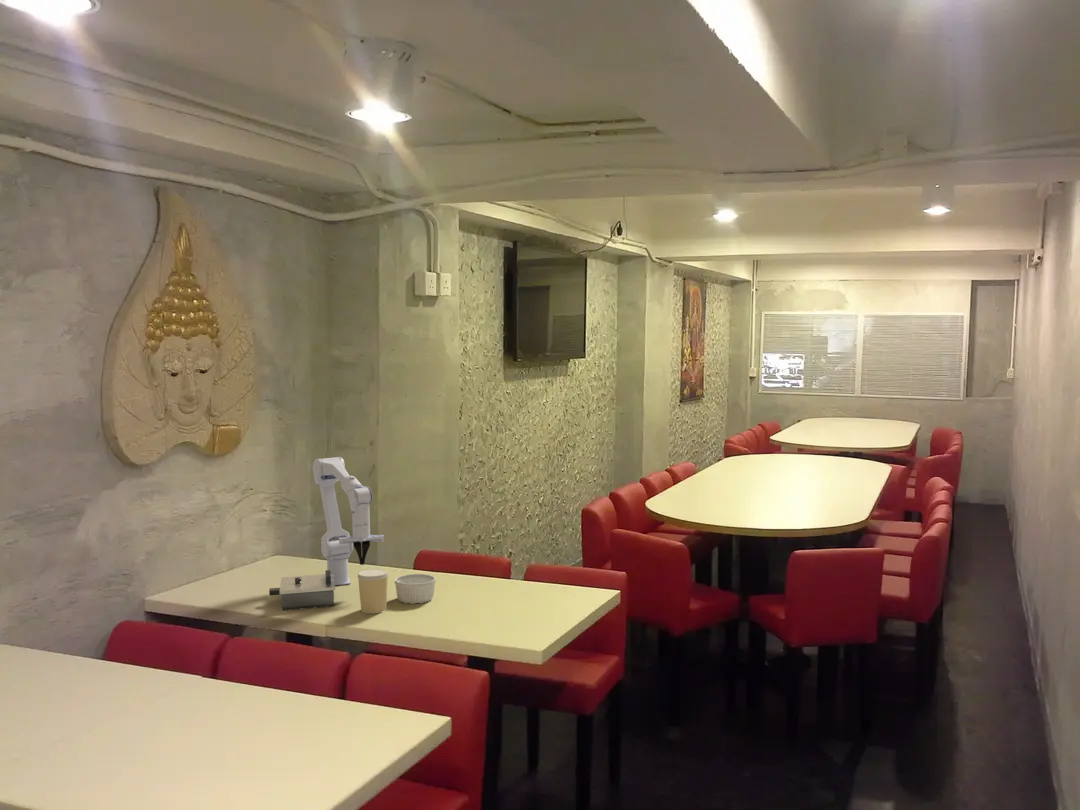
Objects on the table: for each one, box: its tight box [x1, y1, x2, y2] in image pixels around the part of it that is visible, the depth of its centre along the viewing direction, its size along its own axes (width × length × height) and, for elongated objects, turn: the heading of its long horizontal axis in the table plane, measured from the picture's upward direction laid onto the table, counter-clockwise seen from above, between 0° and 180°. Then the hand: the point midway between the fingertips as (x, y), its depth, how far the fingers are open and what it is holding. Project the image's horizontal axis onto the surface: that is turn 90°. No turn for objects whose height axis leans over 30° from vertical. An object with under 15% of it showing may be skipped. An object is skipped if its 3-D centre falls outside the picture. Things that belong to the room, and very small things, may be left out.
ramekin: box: [394, 573, 437, 605], centre depth 285 cm, size 13×13×7 cm
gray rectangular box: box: [268, 587, 335, 611], centre depth 284 cm, size 16×20×5 cm
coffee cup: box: [357, 568, 389, 614], centre depth 274 cm, size 9×9×12 cm
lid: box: [279, 569, 336, 594], centre depth 284 cm, size 17×17×3 cm
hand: (362, 564), depth 291 cm, fingers closed
